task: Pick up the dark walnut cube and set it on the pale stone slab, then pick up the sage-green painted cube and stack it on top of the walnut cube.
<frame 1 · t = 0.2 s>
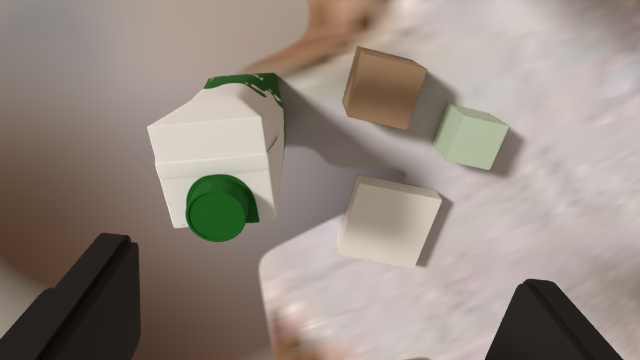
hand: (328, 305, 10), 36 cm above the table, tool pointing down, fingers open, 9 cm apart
sage block: (459, 128, 46), on the table
walnut block: (376, 81, 43), on the table
stone base: (384, 217, 51), on the table
milk carton: (247, 107, 44), on the table
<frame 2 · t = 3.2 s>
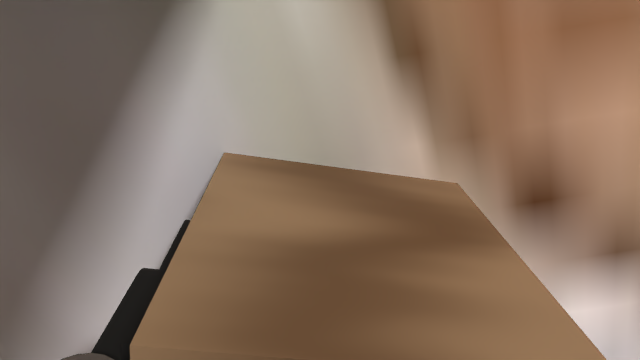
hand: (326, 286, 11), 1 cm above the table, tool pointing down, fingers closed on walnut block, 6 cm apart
walnut block: (325, 265, 11), on the table, touching gripper
when the fingers open (4 cm above the table, at t = 8.8 s): walnut block stays where it is, resting on stone base.
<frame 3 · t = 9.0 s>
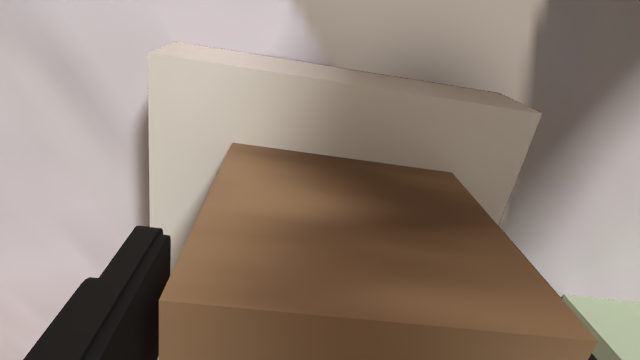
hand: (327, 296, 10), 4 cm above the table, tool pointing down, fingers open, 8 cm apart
sage block: (592, 343, 18), on the table
walnut block: (326, 251, 12), point 2 cm above the table, touching stone base
stone base: (319, 211, 14), on the table
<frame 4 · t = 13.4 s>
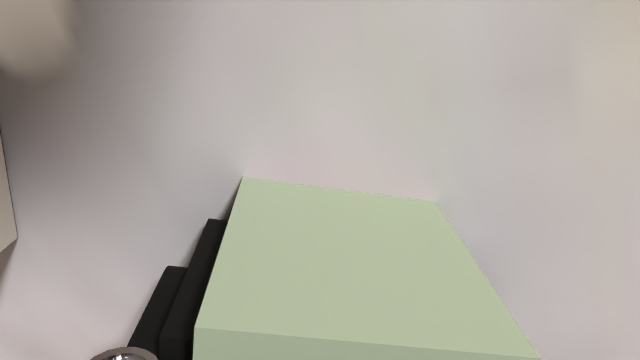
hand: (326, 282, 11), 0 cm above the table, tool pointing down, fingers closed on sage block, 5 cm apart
sage block: (325, 269, 11), on the table, touching gripper
when the fingers open (10 cm above the table, at t = 18.3 s): sage block drops 1 cm, resting on walnut block.
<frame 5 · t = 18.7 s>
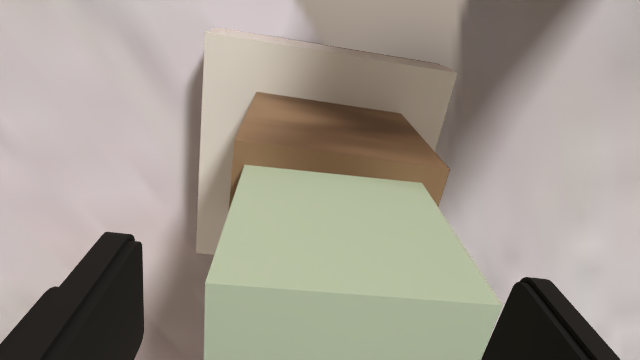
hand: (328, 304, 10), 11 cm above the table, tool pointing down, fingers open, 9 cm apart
sage block: (323, 249, 12), point 8 cm above the table, touching walnut block
walnut block: (318, 169, 18), point 2 cm above the table, touching sage block, stone base
stone base: (314, 150, 20), on the table
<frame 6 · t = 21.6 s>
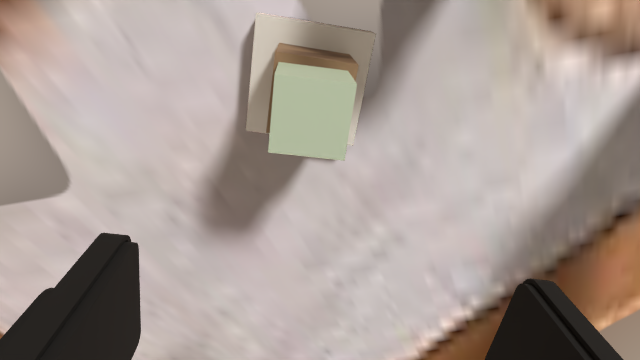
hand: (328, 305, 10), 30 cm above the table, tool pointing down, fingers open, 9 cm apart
sage block: (309, 100, 30), point 8 cm above the table, touching walnut block
walnut block: (309, 83, 35), point 2 cm above the table, touching sage block, stone base
stone base: (307, 79, 37), on the table
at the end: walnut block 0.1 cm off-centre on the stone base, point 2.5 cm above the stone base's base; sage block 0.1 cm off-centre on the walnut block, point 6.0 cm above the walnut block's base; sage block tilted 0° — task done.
